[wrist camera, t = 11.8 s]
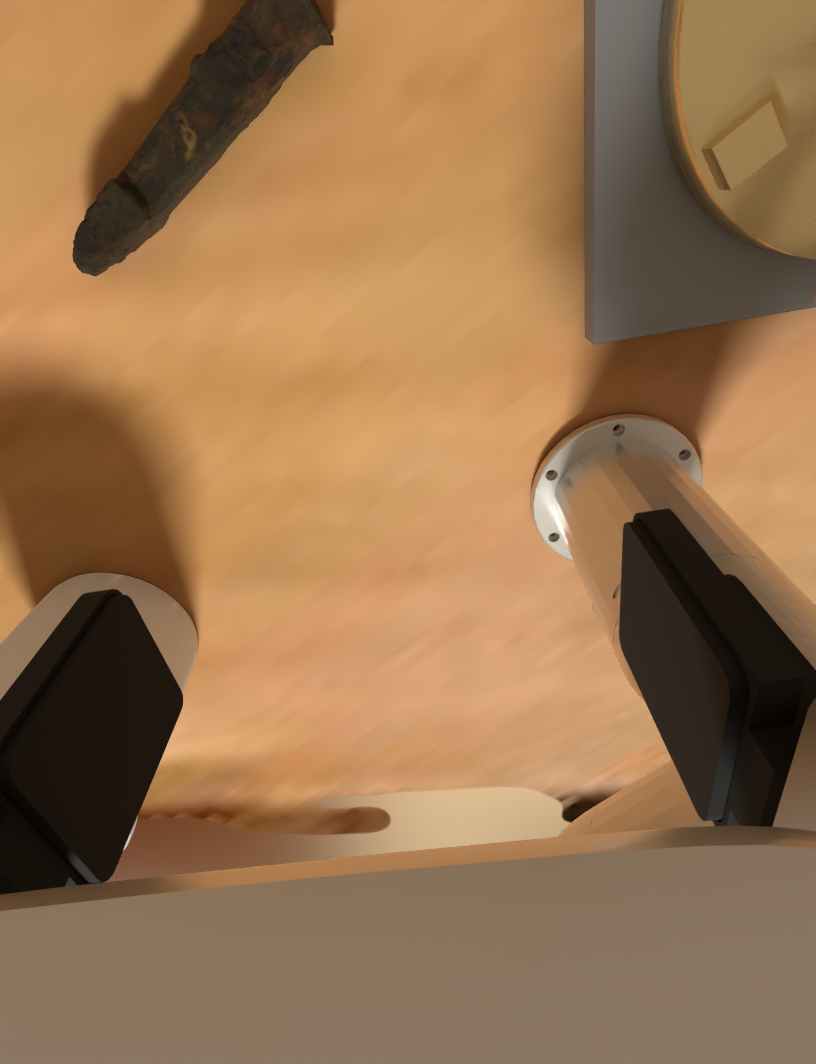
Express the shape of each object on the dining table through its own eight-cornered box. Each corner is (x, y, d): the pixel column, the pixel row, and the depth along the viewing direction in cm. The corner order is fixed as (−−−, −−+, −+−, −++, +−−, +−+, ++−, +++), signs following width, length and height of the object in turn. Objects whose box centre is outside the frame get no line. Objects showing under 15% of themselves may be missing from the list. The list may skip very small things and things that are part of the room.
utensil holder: (84, 531, 45) (-71, 704, 31) (239, 627, 51) (173, 813, 36) (7, 633, 51) (-155, 821, 36) (155, 709, 57) (66, 900, 42)
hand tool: (286, -41, 28) (266, -77, 24) (340, 42, 30) (330, 20, 26) (63, 228, 34) (18, 234, 30) (118, 284, 36) (82, 297, 32)
